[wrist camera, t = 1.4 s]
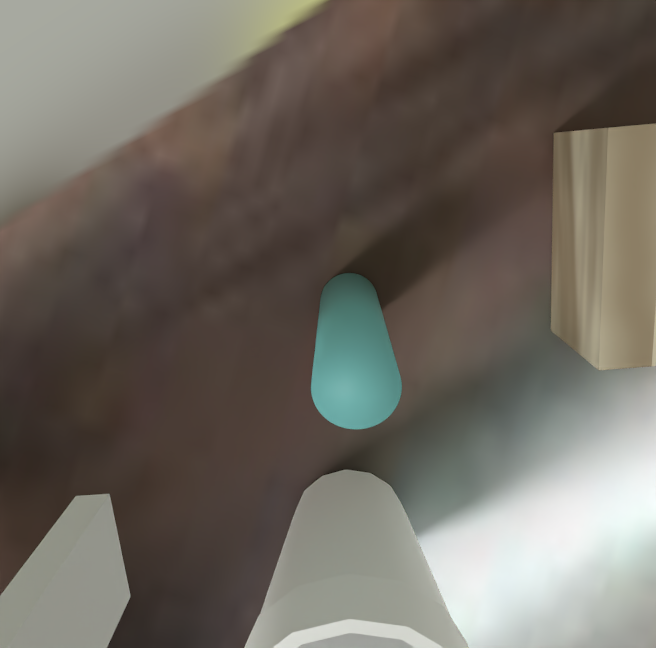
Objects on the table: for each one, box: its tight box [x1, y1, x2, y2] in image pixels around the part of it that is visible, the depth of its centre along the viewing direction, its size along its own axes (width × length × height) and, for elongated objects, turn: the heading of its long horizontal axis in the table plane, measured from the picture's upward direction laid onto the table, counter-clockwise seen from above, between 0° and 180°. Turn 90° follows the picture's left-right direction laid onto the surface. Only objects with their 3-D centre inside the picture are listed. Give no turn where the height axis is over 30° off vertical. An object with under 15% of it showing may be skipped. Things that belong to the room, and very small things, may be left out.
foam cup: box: [244, 470, 469, 648], centre depth 29 cm, size 10×9×13 cm
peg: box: [311, 273, 402, 429], centre depth 25 cm, size 3×3×12 cm
